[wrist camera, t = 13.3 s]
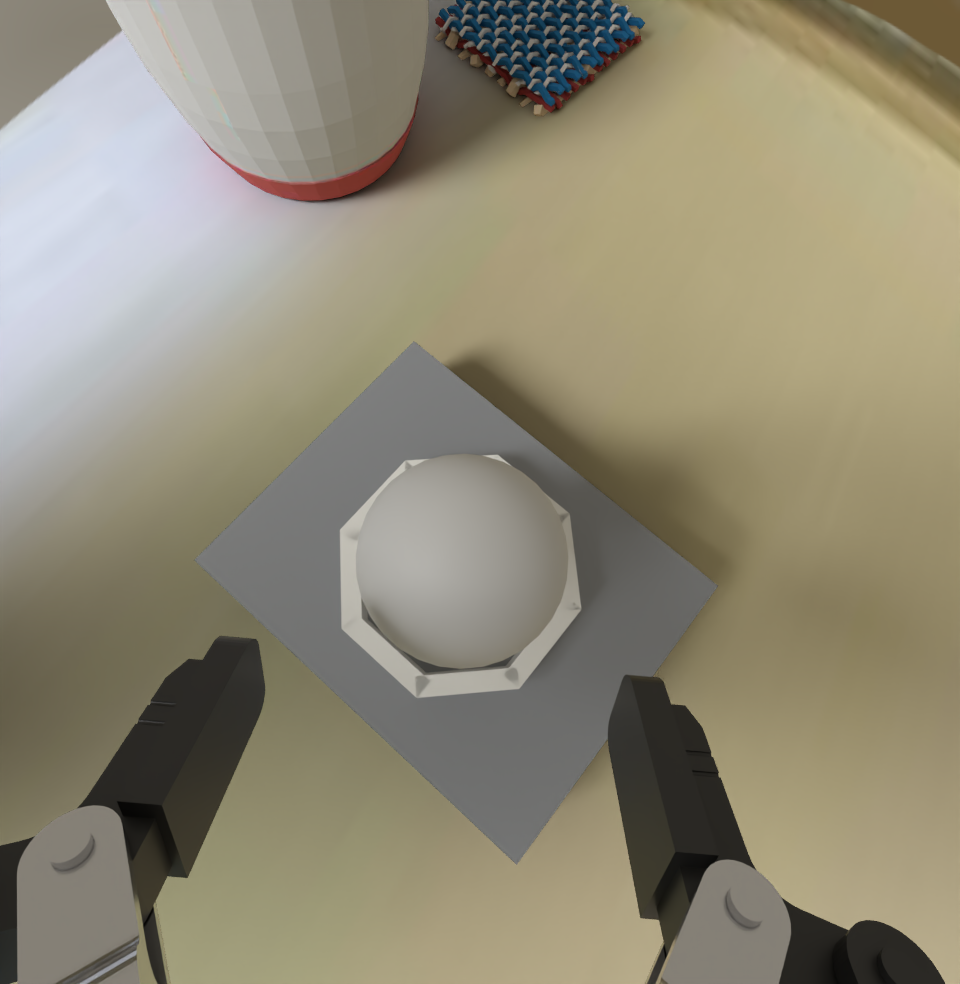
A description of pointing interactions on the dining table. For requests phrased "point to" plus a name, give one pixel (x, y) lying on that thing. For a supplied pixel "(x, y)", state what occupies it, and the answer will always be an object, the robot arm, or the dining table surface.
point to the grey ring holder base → (451, 691)
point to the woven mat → (540, 42)
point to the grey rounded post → (462, 561)
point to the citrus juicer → (288, 83)
